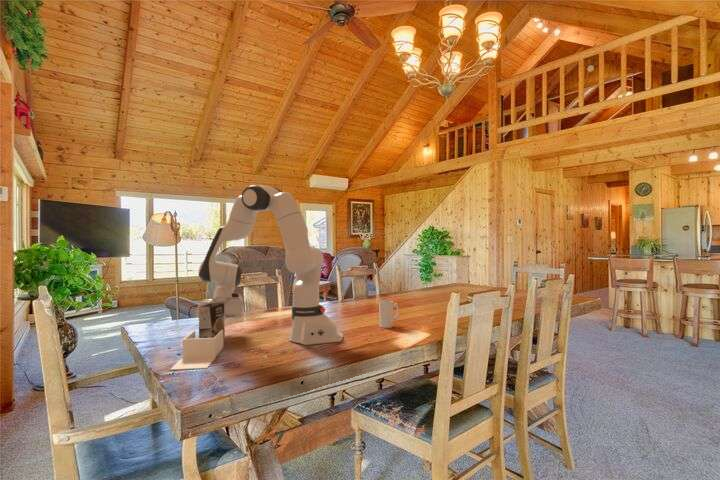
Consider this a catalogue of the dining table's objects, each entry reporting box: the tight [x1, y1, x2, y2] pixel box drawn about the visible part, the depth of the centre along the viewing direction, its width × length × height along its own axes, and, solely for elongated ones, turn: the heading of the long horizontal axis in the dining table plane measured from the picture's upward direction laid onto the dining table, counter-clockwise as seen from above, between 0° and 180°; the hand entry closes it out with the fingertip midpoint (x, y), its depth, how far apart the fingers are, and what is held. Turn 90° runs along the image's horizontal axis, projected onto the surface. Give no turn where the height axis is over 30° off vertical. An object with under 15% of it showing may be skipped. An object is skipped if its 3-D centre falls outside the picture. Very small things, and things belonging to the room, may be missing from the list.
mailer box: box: [169, 330, 224, 371], centre depth 142 cm, size 12×25×7 cm, turn 7°
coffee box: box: [198, 303, 226, 343], centre depth 160 cm, size 9×6×16 cm
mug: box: [378, 299, 400, 329], centre depth 187 cm, size 10×7×12 cm, turn 105°
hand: (218, 325), depth 170 cm, fingers closed
